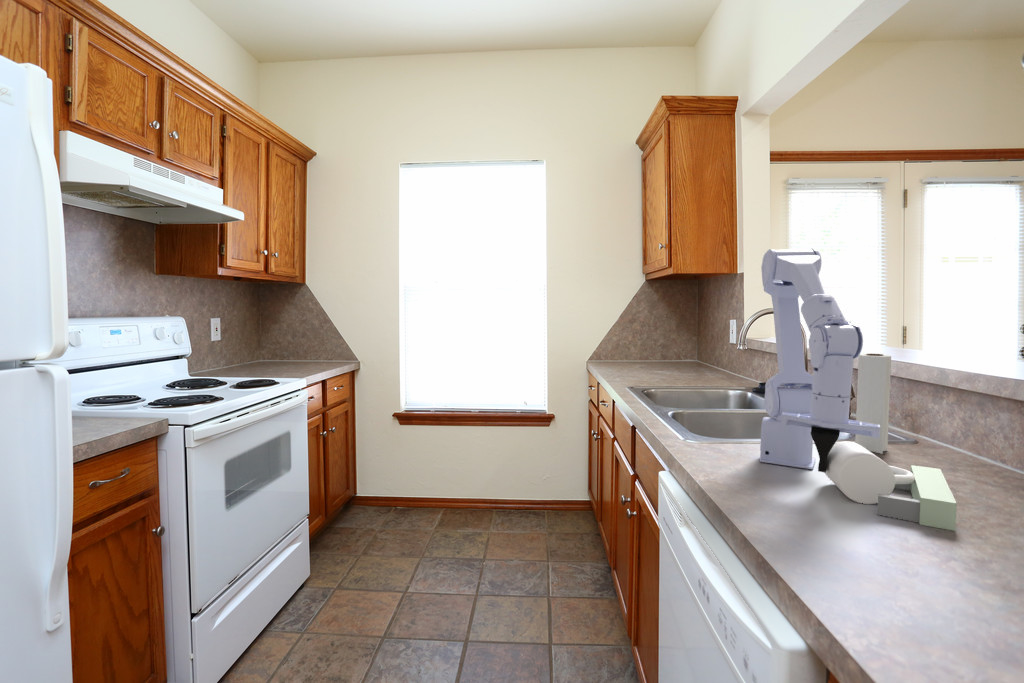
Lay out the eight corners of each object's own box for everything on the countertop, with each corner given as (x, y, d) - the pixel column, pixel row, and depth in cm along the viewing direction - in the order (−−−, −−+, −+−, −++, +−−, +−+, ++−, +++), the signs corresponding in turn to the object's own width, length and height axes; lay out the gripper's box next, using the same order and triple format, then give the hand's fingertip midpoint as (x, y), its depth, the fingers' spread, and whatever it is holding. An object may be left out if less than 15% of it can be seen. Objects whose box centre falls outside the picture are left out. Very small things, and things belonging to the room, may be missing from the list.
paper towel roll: (859, 443, 121) (862, 352, 119) (890, 448, 116) (894, 354, 115) (850, 449, 116) (853, 354, 115) (882, 455, 111) (886, 356, 110)
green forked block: (877, 516, 78) (878, 491, 78) (875, 482, 94) (876, 460, 94) (955, 530, 73) (956, 503, 73) (939, 491, 89) (940, 468, 89)
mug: (837, 501, 84) (839, 453, 84) (820, 482, 94) (821, 439, 94) (924, 509, 81) (927, 459, 81) (897, 489, 91) (899, 444, 90)
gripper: (780, 392, 90) (775, 468, 91) (882, 403, 82) (875, 487, 83) (785, 386, 96) (780, 458, 97) (881, 397, 87) (875, 474, 89)
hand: (824, 470), depth 90 cm, fingers closed, pressing on mug
